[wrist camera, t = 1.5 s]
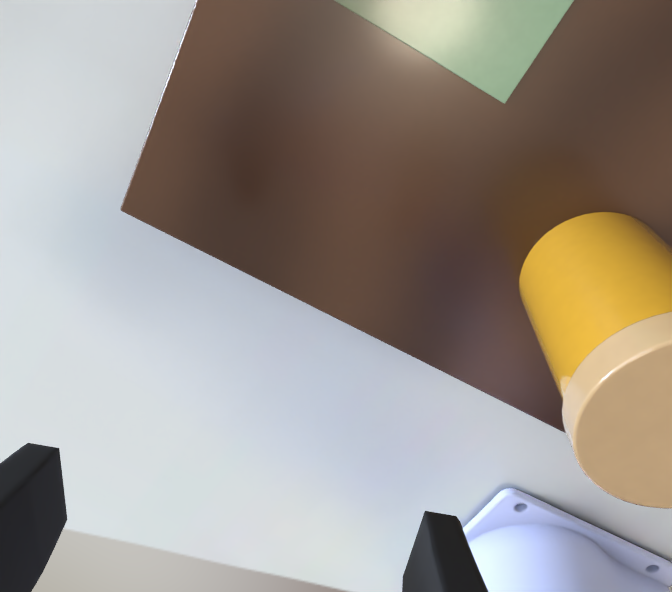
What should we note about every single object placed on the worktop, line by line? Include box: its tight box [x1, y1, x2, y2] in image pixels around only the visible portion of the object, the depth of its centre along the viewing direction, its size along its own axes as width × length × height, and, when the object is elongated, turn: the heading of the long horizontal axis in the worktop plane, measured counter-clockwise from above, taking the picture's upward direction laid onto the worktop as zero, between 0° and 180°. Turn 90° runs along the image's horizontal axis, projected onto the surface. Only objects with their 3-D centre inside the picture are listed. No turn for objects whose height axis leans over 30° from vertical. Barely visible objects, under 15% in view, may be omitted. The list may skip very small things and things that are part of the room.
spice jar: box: [519, 212, 672, 508], centre depth 15 cm, size 5×5×7 cm
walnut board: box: [121, 0, 672, 433], centre depth 17 cm, size 22×17×1 cm
